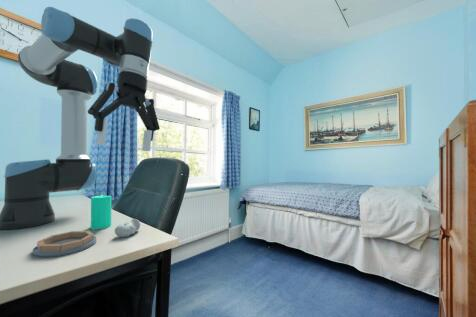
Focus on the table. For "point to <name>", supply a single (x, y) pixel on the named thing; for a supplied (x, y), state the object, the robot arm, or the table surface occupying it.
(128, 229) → the grey curved figurine
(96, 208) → the candle
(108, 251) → the table surface
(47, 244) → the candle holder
